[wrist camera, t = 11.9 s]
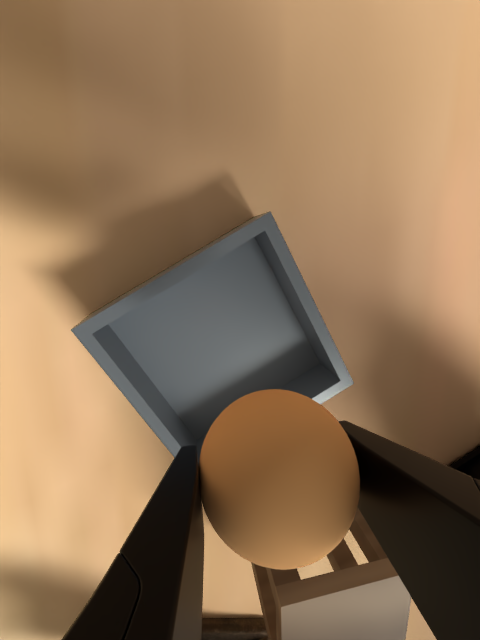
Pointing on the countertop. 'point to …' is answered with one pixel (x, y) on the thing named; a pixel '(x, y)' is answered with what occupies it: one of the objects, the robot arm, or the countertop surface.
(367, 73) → the countertop surface
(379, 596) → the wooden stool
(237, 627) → the sculpture
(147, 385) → the tray
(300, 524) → the ball
